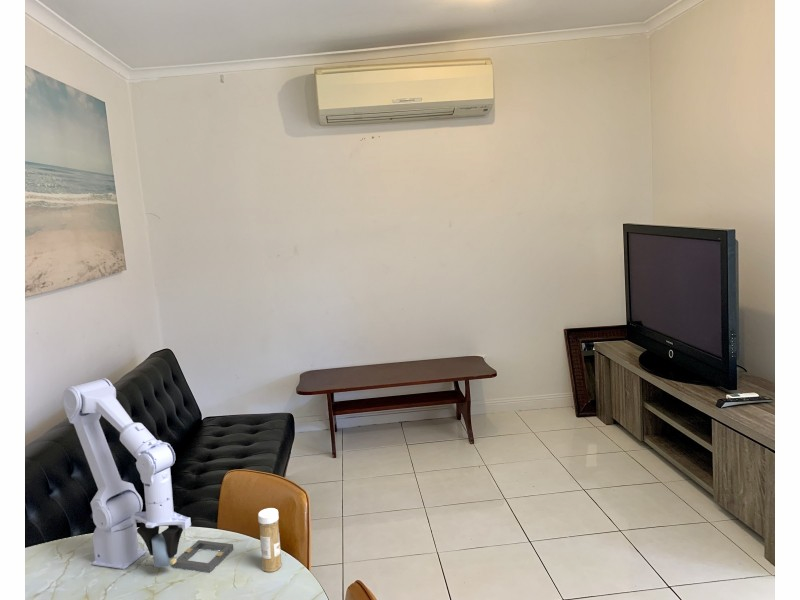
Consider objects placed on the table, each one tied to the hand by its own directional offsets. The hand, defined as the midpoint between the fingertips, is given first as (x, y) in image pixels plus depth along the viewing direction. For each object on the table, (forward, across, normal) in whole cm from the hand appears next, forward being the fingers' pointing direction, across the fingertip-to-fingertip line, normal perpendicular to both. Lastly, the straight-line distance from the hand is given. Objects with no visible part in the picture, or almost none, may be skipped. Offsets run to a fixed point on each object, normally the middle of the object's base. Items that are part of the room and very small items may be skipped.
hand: (163, 554), depth 130 cm
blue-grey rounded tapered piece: (+2, 0, 0) cm, 2 cm away
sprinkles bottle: (+4, +24, +7) cm, 25 cm away
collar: (+4, +6, +7) cm, 10 cm away
